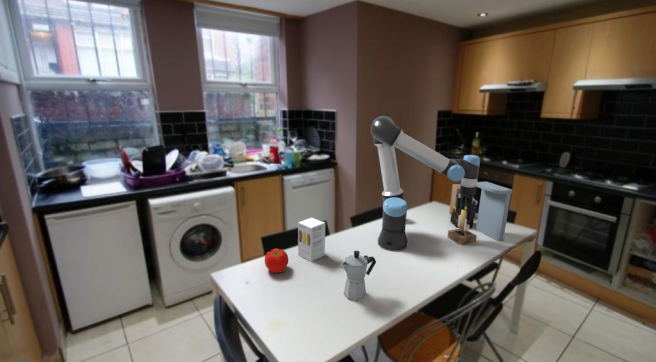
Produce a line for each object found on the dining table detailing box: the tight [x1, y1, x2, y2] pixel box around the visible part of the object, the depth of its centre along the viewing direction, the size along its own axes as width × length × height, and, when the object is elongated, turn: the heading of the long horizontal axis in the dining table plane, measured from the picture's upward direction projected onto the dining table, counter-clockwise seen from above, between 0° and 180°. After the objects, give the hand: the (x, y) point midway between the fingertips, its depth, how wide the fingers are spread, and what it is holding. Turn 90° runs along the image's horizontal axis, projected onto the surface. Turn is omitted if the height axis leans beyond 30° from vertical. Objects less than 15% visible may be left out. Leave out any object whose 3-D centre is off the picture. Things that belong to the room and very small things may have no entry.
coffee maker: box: [340, 250, 377, 302], centre depth 120 cm, size 15×9×18 cm, turn 114°
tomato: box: [264, 248, 289, 274], centre depth 137 cm, size 11×11×9 cm
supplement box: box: [297, 217, 326, 262], centre depth 150 cm, size 10×9×17 cm
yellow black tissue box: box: [450, 207, 475, 229], centre depth 189 cm, size 10×10×10 cm
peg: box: [458, 209, 467, 230], centre depth 167 cm, size 4×4×10 cm
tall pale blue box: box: [475, 181, 513, 243], centre depth 171 cm, size 9×17×28 cm, turn 20°
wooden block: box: [448, 183, 466, 215], centre depth 202 cm, size 10×10×20 cm
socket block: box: [447, 228, 478, 246], centre depth 169 cm, size 10×10×4 cm
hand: (463, 228), depth 168 cm, fingers closed on peg, 4 cm apart
